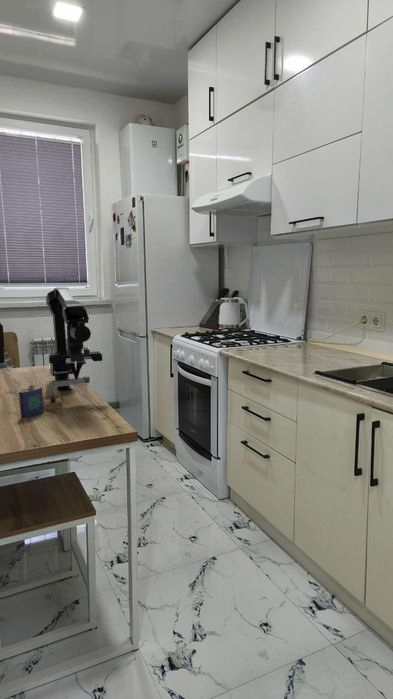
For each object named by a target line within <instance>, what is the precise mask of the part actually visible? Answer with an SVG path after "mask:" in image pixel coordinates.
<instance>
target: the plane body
mask: <svg viewBox="0 0 393 699" xmlns="http://www.w3.org/2000/svg"><path fill="white" fill-rule="evenodd" d="M57 392H58V397H56V401H55V402H51V401H50V398H47V397H46V391H42V394H43V407H44V411H45V410H46V411H47V410H56V409H63V400H62V397H61V393H60V390H57Z"/></svg>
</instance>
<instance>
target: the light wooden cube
mask: <svg viewBox="0 0 393 699" xmlns="http://www.w3.org/2000/svg"><path fill="white" fill-rule="evenodd" d="M52 381H56V380H55V379H54V380H45V382H44V384H45V386H44V387H45V392H46V397H47V398H50V386H49V382H52ZM57 391H58V390H57V387H55V397H58V392H57Z"/></svg>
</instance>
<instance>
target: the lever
mask: <svg viewBox="0 0 393 699" xmlns="http://www.w3.org/2000/svg"><path fill="white" fill-rule="evenodd" d="M51 381H52V382H49V386H50V401H51V402H55V401H56V397H55V387H60V386H67V385H70V386H73V385H81V384H89V383H91V381H90V376H83V377H78V378H75V377H74V378H69V379H67V380H60V381H54V380H51Z"/></svg>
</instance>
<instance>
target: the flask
mask: <svg viewBox="0 0 393 699" xmlns="http://www.w3.org/2000/svg"><path fill="white" fill-rule="evenodd" d="M28 386H29V387H27V388H25V389H22V390H20V391H18V395H19V396H18V398H19V408H20V418H21V419H23V420H24V419H29V418H32V417H36V416H38V415H41V414H43V413H45V412H44V411H45V407H44V399H43V387H42V386H36V387H35V384H29V385H28Z"/></svg>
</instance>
